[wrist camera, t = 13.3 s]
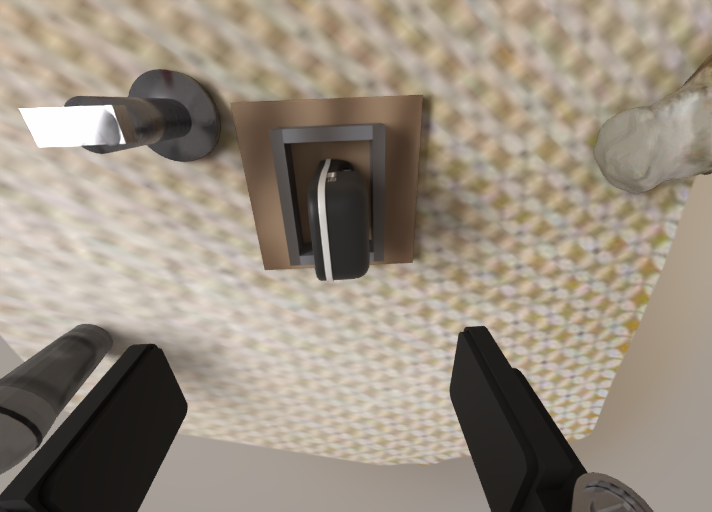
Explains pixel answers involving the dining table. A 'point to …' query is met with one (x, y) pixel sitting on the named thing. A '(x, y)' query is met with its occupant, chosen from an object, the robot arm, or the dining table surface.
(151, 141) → the post
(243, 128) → the holder
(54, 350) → the beverage cup
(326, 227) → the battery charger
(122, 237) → the dining table surface
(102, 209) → the dining table surface
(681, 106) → the ceramic sculpture
